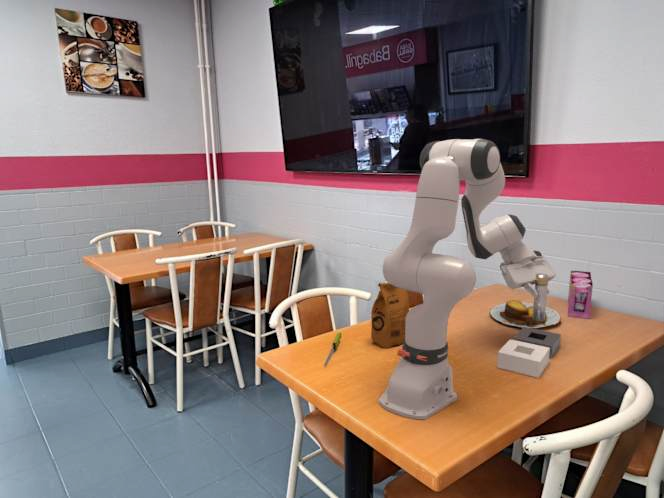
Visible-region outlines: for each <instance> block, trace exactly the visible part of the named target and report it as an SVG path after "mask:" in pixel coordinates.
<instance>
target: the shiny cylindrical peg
mask: <svg viewBox="0 0 664 498" xmlns="http://www.w3.org/2000/svg"><path fill="white" fill-rule="evenodd" d="M548 282H549V281H548V275H547V274H542V273H538V274H536V279H535V284H534V289H535V290H538V292H539V293H540V295H539V296H537V297H533V304H534V307H533V319H534V320H538V321H543V320H545V308H546V307H547V295H548V294H547V286H548V285H549V283H548Z"/></svg>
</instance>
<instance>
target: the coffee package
mask: <svg viewBox="0 0 664 498" xmlns="http://www.w3.org/2000/svg"><path fill="white" fill-rule="evenodd" d="M377 286H378V287H379V291H378V294H377V296H376V299H375V300H374V303H373V305H372V307H371V308H372V309H371V313H370V314H371V316H370V317H371V332H370V333H371V334H370V338H371V340H372V342H373V343H374V344H377V345H378V346H380V347H382V348H385V349H389V348H391V347H393V346H400V345H403V343H404V340H405V318H406V315H407V313H408V311H409V310H410V303H409V301H410V300H409V295H408V293H407V291H408V290H403V289H400V288H398V287H395V286H393V285H391V284H389V283H387V282H379V283H378V284H377Z"/></svg>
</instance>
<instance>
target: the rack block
mask: <svg viewBox="0 0 664 498" xmlns="http://www.w3.org/2000/svg"><path fill="white" fill-rule="evenodd" d="M549 353H550V348H548V347H544V346H539V345H535V344H530V343H525V342H521V341H516V340H513V339H509V340H507V342H506V343H505V344H504V345H503V346H502V347H501V348H500V349H499V350H498V351H497V362H496V363H497V364H496V368H499V369H501V370H502V369H503V370H506V371H510V372H514V373H517V374H521V375H525V376H528V377H529V376H530V377H533V378H537V379H539V378H541V376H542V374H543V372H545V369H546V367H548V365H549V362H550V358H549Z"/></svg>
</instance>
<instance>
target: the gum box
mask: <svg viewBox="0 0 664 498" xmlns="http://www.w3.org/2000/svg"><path fill="white" fill-rule="evenodd" d="M591 273H592V272H590V271H583V270H570V275H569V286H568V297H567V298H568V299H567V317H571V318H579V319H585V320H586V319H587V320H590V319H591V317H590V315H591V309H592V308H591V307H592V306H591V304H592V298H593V297H592V296H593V286H594V284H593V280H592V274H591Z"/></svg>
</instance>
